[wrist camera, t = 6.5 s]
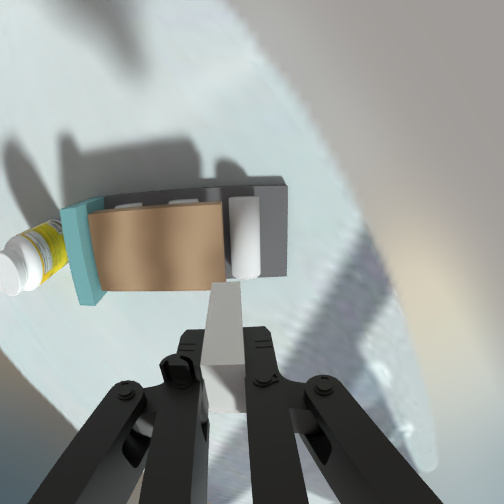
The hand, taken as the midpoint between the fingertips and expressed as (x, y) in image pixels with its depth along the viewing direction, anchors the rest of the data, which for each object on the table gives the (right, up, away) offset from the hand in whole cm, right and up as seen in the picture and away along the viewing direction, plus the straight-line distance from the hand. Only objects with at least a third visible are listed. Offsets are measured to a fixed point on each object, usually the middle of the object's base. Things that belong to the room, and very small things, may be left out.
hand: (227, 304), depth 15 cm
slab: (-8, +4, +11) cm, 14 cm away
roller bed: (-6, +5, +15) cm, 17 cm away
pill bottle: (-23, +4, +14) cm, 28 cm away
